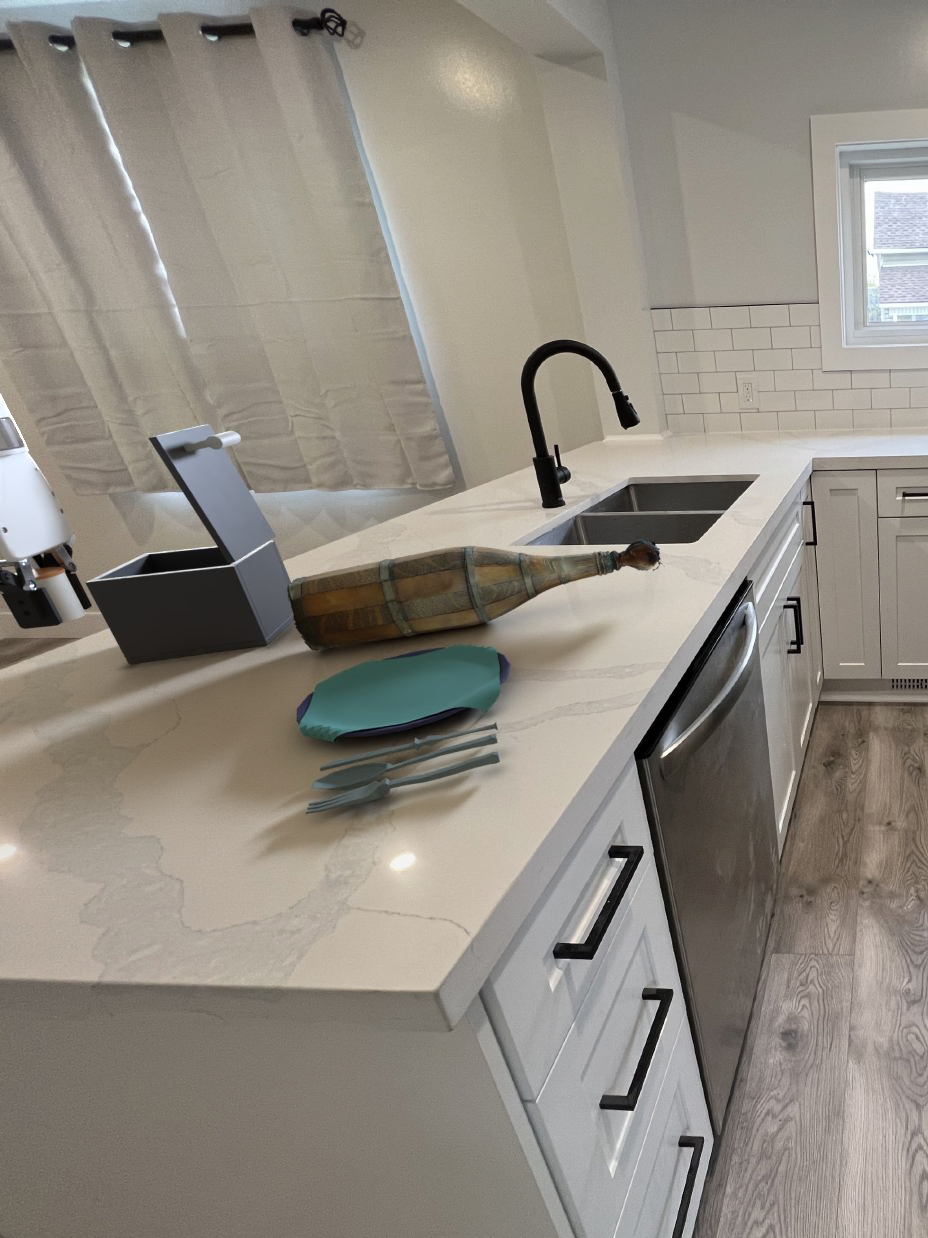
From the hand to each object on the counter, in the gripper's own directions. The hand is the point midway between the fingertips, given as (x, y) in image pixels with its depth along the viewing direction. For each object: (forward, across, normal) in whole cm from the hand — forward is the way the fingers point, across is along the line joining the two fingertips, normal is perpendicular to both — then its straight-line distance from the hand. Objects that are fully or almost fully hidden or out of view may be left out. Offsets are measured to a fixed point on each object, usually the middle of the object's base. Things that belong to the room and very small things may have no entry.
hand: (57, 616), depth 74 cm
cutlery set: (+9, +19, +35) cm, 41 cm away
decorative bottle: (+9, -8, +41) cm, 43 cm away
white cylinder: (0, 0, 0) cm, 0 cm away
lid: (-9, -17, +10) cm, 22 cm away
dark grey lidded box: (+10, -17, +5) cm, 20 cm away
